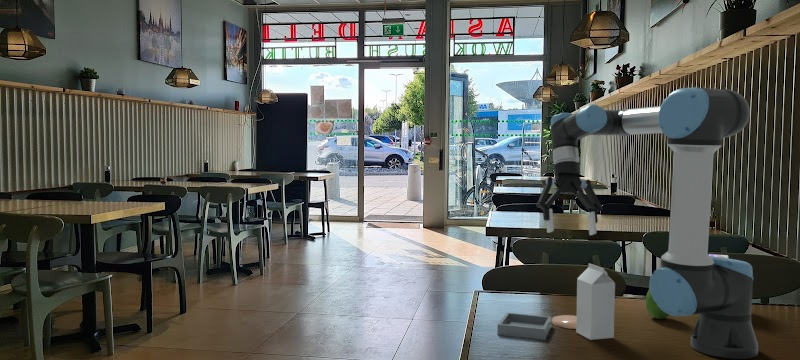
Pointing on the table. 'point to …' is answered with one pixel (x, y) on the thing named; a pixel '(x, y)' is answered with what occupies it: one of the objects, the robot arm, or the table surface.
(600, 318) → the milk carton
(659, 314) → the avocado
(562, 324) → the peach flat disc
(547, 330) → the square tray
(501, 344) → the table surface
